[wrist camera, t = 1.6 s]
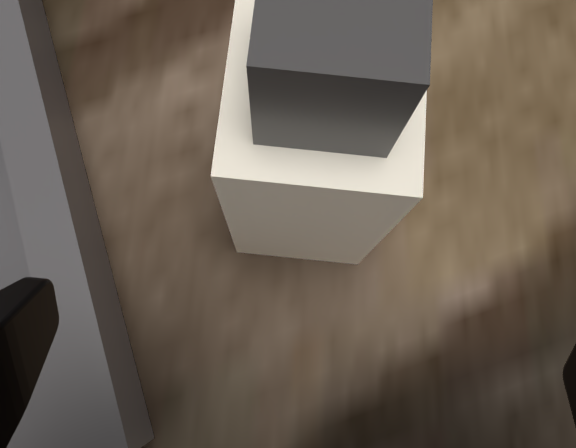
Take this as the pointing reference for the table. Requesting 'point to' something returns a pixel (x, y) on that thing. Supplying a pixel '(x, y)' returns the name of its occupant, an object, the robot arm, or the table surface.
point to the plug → (322, 124)
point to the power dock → (60, 252)
